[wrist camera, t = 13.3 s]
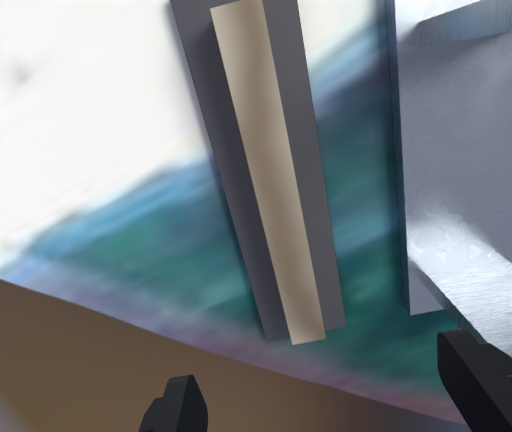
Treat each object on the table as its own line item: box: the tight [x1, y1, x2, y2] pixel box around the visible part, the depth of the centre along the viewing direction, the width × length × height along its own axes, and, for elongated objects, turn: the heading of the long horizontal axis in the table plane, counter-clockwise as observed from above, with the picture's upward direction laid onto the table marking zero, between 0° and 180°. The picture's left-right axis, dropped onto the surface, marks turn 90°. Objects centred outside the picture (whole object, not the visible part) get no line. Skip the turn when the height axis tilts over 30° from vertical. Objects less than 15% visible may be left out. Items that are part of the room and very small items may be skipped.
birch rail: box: [210, 0, 326, 345], centre depth 25 cm, size 3×26×3 cm, turn 13°
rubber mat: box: [170, 0, 346, 342], centre depth 26 cm, size 8×30×1 cm, turn 13°
